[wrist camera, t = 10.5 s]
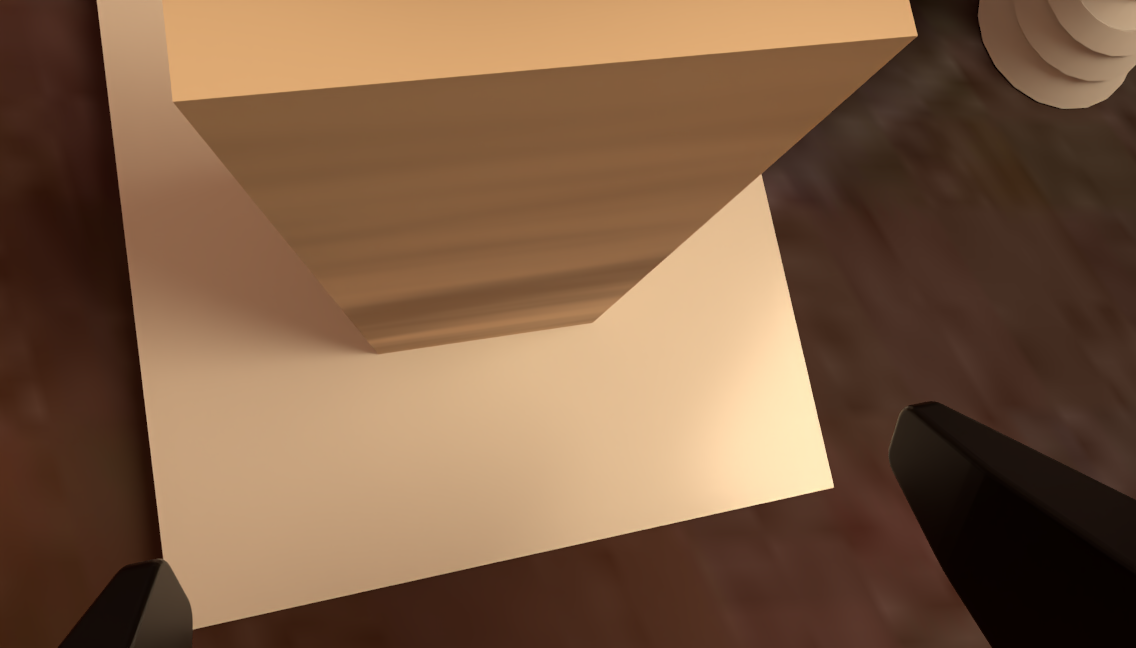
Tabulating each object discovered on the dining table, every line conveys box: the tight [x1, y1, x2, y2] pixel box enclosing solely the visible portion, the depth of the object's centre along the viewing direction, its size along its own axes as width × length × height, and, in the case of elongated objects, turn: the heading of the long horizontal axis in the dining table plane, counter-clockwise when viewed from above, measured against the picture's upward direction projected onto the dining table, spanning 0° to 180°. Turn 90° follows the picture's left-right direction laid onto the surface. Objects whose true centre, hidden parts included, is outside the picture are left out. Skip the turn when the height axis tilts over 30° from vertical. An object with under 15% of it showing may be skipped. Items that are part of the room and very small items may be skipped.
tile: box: [97, 0, 834, 629], centre depth 18 cm, size 15×15×1 cm
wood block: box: [162, 0, 918, 354], centre depth 12 cm, size 5×5×13 cm
